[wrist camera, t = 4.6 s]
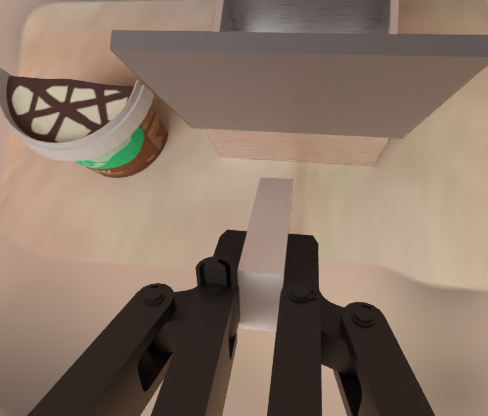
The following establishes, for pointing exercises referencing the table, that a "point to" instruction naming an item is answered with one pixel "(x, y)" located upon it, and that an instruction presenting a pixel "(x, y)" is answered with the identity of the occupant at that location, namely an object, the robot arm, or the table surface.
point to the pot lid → (302, 78)
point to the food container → (84, 122)
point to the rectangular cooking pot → (303, 21)
